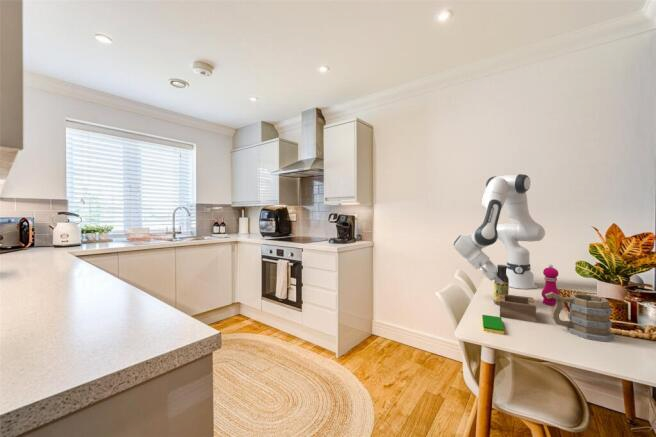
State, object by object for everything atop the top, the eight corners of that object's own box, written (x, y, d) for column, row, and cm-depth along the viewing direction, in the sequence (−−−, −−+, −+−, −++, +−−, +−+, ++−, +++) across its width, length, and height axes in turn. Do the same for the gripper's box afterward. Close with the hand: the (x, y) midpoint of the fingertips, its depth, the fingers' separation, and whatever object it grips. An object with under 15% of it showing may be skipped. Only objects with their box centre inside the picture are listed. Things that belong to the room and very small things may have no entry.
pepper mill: (553, 301, 140) (553, 263, 139) (563, 306, 133) (564, 266, 132) (538, 301, 141) (538, 263, 140) (548, 306, 134) (548, 266, 133)
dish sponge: (483, 332, 109) (483, 326, 109) (482, 319, 121) (482, 314, 121) (504, 335, 106) (504, 329, 106) (501, 322, 118) (501, 316, 118)
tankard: (602, 329, 108) (603, 292, 108) (619, 344, 97) (620, 302, 96) (540, 321, 117) (540, 287, 116) (549, 334, 106) (549, 295, 105)
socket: (499, 307, 134) (499, 293, 133) (532, 312, 127) (532, 297, 126) (499, 316, 123) (499, 301, 122) (535, 322, 116) (535, 306, 115)
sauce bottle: (495, 305, 137) (494, 266, 136) (492, 301, 143) (492, 263, 142) (510, 306, 135) (510, 266, 134) (507, 302, 141) (506, 264, 140)
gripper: (484, 260, 133) (508, 283, 128) (486, 254, 150) (507, 273, 145) (473, 269, 136) (497, 291, 131) (477, 261, 153) (497, 281, 148)
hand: (502, 281), depth 138 cm, fingers closed on sauce bottle, 6 cm apart
